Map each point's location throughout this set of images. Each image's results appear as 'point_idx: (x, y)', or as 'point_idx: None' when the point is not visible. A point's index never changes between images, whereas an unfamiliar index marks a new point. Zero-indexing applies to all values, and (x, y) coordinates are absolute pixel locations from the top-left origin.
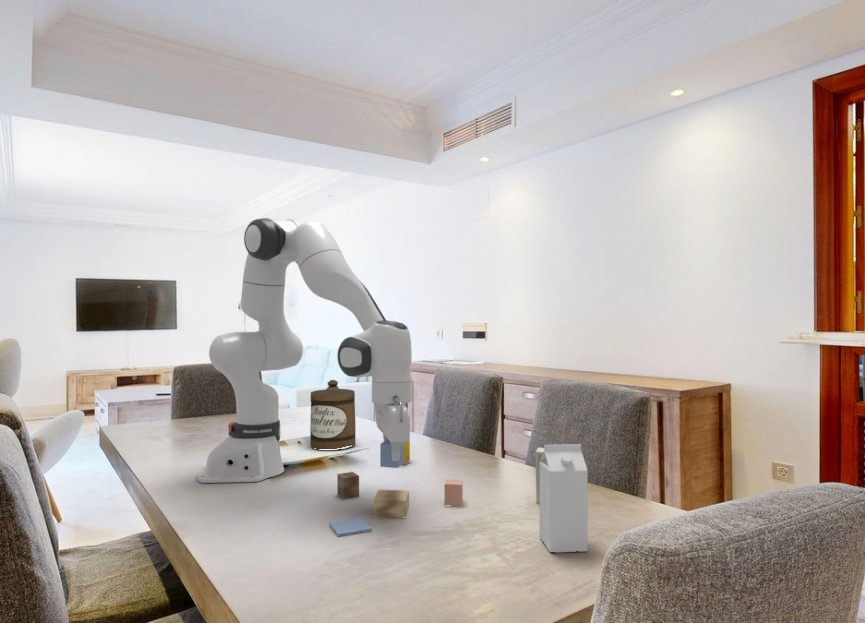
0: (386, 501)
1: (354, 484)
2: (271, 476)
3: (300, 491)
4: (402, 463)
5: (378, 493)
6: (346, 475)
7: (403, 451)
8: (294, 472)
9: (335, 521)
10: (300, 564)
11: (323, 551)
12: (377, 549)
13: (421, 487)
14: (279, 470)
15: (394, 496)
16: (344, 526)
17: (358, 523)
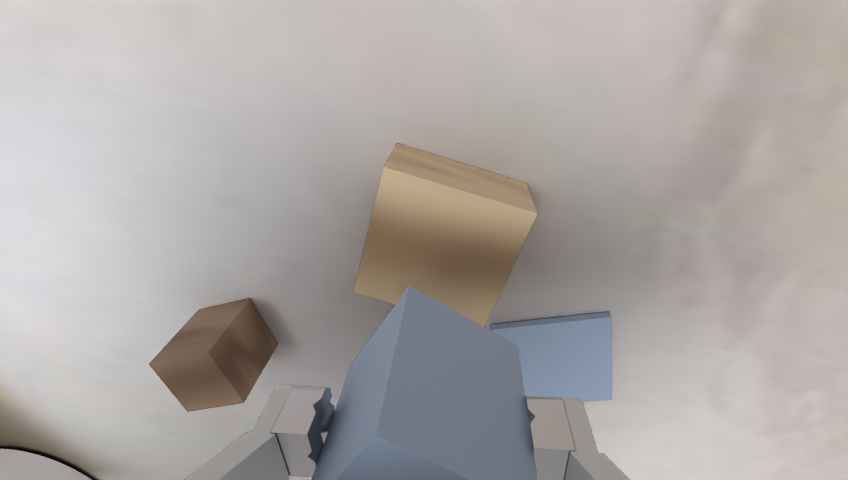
0: (502, 284)
1: (235, 344)
2: (83, 476)
3: (202, 429)
4: (436, 306)
5: None
6: (204, 389)
7: (408, 359)
8: (17, 426)
9: None
10: (740, 470)
11: (691, 429)
12: (767, 319)
13: (106, 16)
14: (41, 469)
15: (461, 248)
16: (556, 379)
17: (546, 343)
